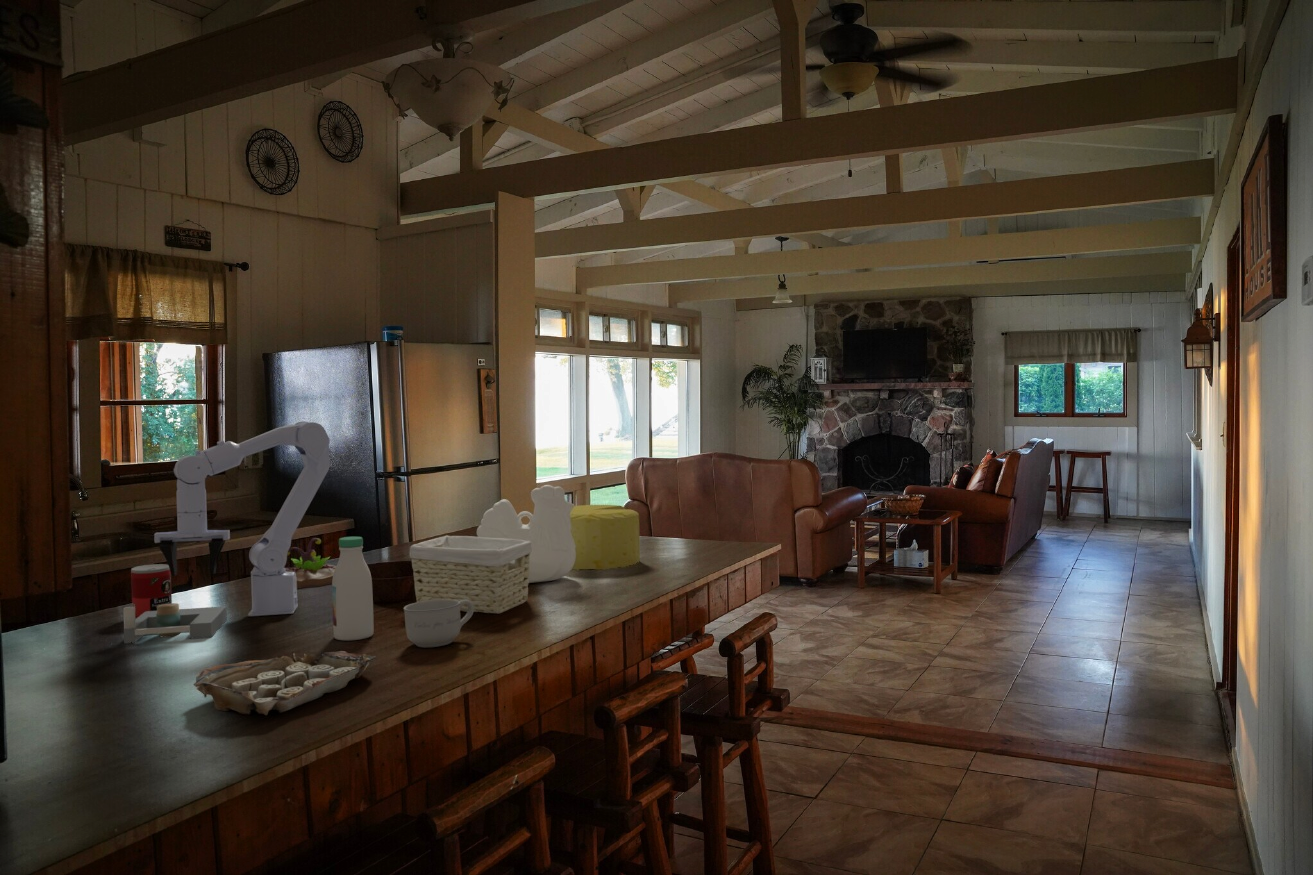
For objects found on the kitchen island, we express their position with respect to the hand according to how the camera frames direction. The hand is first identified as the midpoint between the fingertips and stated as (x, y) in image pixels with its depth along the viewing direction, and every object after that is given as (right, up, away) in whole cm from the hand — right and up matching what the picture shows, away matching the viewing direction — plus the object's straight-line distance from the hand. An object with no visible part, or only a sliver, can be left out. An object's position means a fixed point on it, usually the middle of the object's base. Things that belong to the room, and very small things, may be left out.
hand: (193, 574), depth 202 cm
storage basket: (+58, -9, +13) cm, 60 cm away
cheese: (+82, -6, +66) cm, 106 cm away
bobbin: (0, -11, -10) cm, 15 cm away
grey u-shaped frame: (0, -11, -7) cm, 13 cm away
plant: (+8, -9, +46) cm, 47 cm away
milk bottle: (+39, -11, -13) cm, 43 cm away
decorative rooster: (+67, -8, +41) cm, 79 cm away
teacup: (+58, -11, -19) cm, 62 cm away
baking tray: (+39, -13, -47) cm, 63 cm away
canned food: (-12, -11, +7) cm, 18 cm away
